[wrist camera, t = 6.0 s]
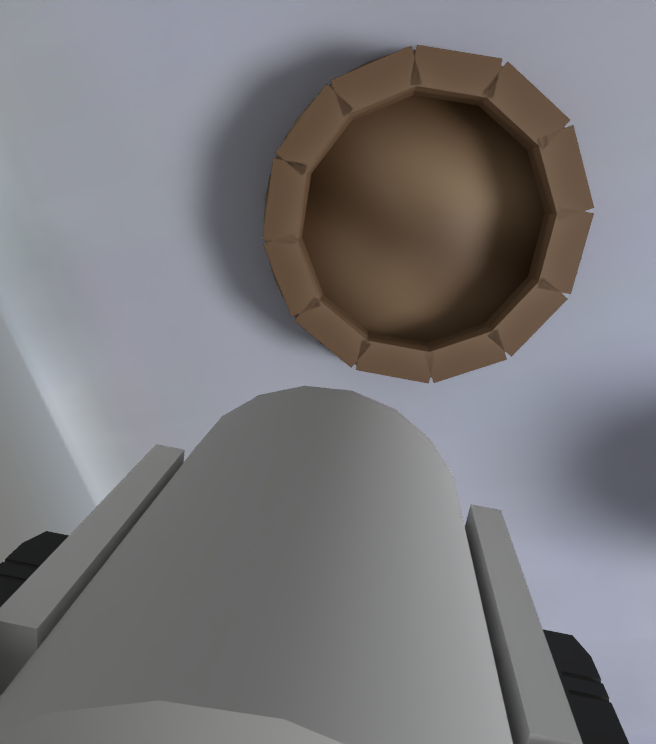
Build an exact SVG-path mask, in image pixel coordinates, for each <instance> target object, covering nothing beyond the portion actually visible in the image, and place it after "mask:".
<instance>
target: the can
mask: <svg viewBox="0 0 656 744" xmlns="http://www.w3.org/2000/svg"><path fill="white" fill-rule="evenodd" d="M0 744H513V741H512V737H511V732H510V728H509V723H508V719H507V714H506V710H505V705H504V701H503V696H502V692H501V687H500V683H499V678H498V674H497V670H496V665H495V661H494V656H493V652H492V647H491V643H490V638H489V634H488V629H487V625H486V620H485V616H484V611H483V607H482V602H481V598H480V593H479V589H478V584H477V580H476V576H475V571H474V567H473V562H472V558H471V553H470V549H469V544H468V540H467V535H466V531H465V526H464V522H463V517H462V513H461V508H460V504H459V499H458V495H457V491H456V486H455V482H454V477H453V475H452V474H451V472H450V470H449V469H448V467H447V465H446V464H445V462H444V460H443V459H442V457H441V455H440V454H439V452H438V451H437V449H436V447H435V446H434V444H433V442H432V441H431V439H430V438H429V437H427V436H426V435H425V434H424V433H423V432H422V431H420V430H419V429H418V428H417V427H416V426H414V425H413V424H412V423H411V422H410V421H409V420H407V419H406V418H405V417H404V416H403V415H402V414H400V413H399V412H398V411H397V410H396V409H393V408H391V407H389V406H386V405H384V404H382V403H379V402H377V401H375V400H372V399H370V398H367V397H365V396H363V395H360V394H358V393H356V392H353V391H349V390H339V389H330V388H320V387H310V386H302V387H297V388H292V389H287V390H282V391H277V392H272V393H267V394H262V395H259V396H257V397H255V398H254V399H252V400H250V401H248V402H247V403H245V404H243V405H241V406H240V407H238V408H236V409H234V410H233V411H231V412H229V413H227V414H226V415H224V416H222V417H221V418H220V420H219V421H218V422H217V423H216V424H215V425H214V427H213V428H212V429H211V430H210V431H209V432H208V434H207V435H206V436H205V437H204V438H203V439H202V441H201V442H200V443H199V444H198V445H197V446H196V448H195V449H194V450H193V451H192V453H191V454H190V455H189V457H188V458H187V459H186V460H185V462H184V463H183V464H182V465H181V467H180V468H179V469H178V471H177V472H176V473H175V474H174V476H173V477H172V478H171V479H170V481H169V482H168V483H167V485H166V486H165V487H164V488H163V490H162V491H161V492H160V493H159V495H158V496H157V497H156V499H155V500H154V501H153V502H152V504H151V505H150V506H149V507H148V509H147V510H146V511H145V513H144V514H143V515H142V516H141V518H140V519H139V520H138V521H137V523H136V524H135V525H134V527H133V528H132V529H131V530H130V532H129V533H128V534H127V535H126V537H125V538H124V539H123V541H122V542H121V543H120V544H119V546H118V547H117V548H116V549H115V551H114V552H113V553H112V555H111V556H110V557H109V558H108V560H107V561H106V562H105V563H104V565H103V566H102V567H101V569H100V570H99V571H98V572H97V574H96V575H95V576H94V577H93V579H92V580H91V581H90V583H89V584H88V585H87V586H86V588H85V589H84V590H83V592H82V593H81V594H80V595H79V597H78V598H77V599H76V600H75V602H74V603H73V604H72V606H71V607H70V608H69V609H68V611H67V612H66V613H65V614H64V616H63V617H62V618H61V620H60V621H59V622H58V623H57V625H56V626H55V627H54V628H53V630H52V631H51V632H50V634H49V635H48V636H47V637H46V639H45V640H44V641H43V642H42V644H41V645H40V646H39V648H38V649H37V650H36V651H35V653H34V654H33V655H32V656H31V658H30V659H29V660H28V662H27V663H26V664H25V665H24V667H23V668H22V669H21V670H20V672H19V673H18V674H17V676H16V677H15V678H14V679H13V681H12V682H11V683H10V684H9V686H8V687H7V688H6V690H5V691H4V692H3V693H2V695H1V696H0Z"/></svg>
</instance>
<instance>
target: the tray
mask: <svg viewBox="0 0 656 744" xmlns="http://www.w3.org/2000/svg"><path fill="white" fill-rule="evenodd" d="M501 63H502V59H501V58H495V57H489V56H483V55H477V54H470V53H464V52H458V51H452V50H446V49H440V48H433V47H427V46H421V45H417V47H416V50H412V47H411V46H409V47H407V48H404V49H402V50H400V51H397V52H395V53H393V54H390V55H387V56H385V57H382V58H379V59H376V60H373V61H370V62H368V63H366V64H364V65H362V66H360V67H358V68H356V69H354V70H352V71H350V72H348V73H346V74H344V75H342V76H339V77H337V78H335V79H332V80H331V82H332V84H331V85H329V86H328V85H327V84H326V85H325V86H324V88H323V89H322V90H321V92H320V93H319V94H318V96H317V97H316V98H315V99H314V100H313V101H312V102H311V103H310V104H309V106H308V107H307V108H306V109H305V110H304V111H303V113H302V114H301V115H300V116H299V117H298V119H297V120H296V122H295V123H294V125H293V127H292V128H291V130H290V131H289V133H288V134H287V136H286V138H285V140H284V142H283V143H282V145H281V146H280V147H279V149H278V150H277V151H276V154H277V157H276V159H274V158H273V164H272V172H271V175H270V178H269V183H268V188H267V193H266V198H265V213H264V233H263V239H264V240H265V241H266V244H264V248H265V250H266V253H267V256H268V258H269V262H270V265H271V268H272V271H273V275H274V278H275V280H276V283H277V285H278V287H279V289H280V291H281V293H282V296H283V298H284V299H285V302H286V304H287V307H288V309H289V312H290V315H291V316H294V315H295V316H296V317H297V318H296V319H295V320H294V321H295V322H297V323H298V324H299V325H300V326H301V327H303V328H304V329H305V330H306V331H307V332H309V333H310V334H311V335H312V336H314V337H315V338H316V339H317V340H318V341H319V342H320V343H322V344H323V345H324V346H326V347H327V348H328V349H329V350H330V351H332V352H333V353H334V354H335V355H336V356H338V357H339V358H340V359H341V360H343V361H344V362H345V363H346V364H347V365H349V366H350V367H352V366H353V365H354V364H356V365H357V366H356V370H359V371H365V372H370V373H376V374H381V375H386V376H392V377H397V378H403V379H408V380H413V381H419V382H424V383H429V379H430V377H432V379H433V382H434V383H435V382H438V381H442V380H445V379H448V378H451V377H454V376H457V375H460V374H463V373H466V372H469V371H473V370H476V369H479V368H482V367H485V366H488V365H491V364H494V363H497V362H500V361H504V360H507V358H506V355H505V351H506V352H507V353H508V354H509V355H510V356H511V357H512V356H513V355H514V353H515V352H516V351H517V350H518V349H519V348H520V347H521V346H522V345H523V344H524V343H525V342H526V341H527V340H528V339H529V338H530V337H531V336H532V335H533V334H534V333H535V332H536V331H537V330H538V329H539V328H540V327H541V326H542V325H543V324H544V323H545V322H546V321H547V320H548V319H549V318H550V317H551V316H552V315H553V314H554V313H555V312H556V310H557V309H558V308H559V307H560V306H561V305H562V304H563V303H564V302H565V301H566V300H567V298H566V297H565V296H564V295H563V294H562V293H568V294H571V291H572V288H573V284H574V281H575V277H576V274H577V270H578V267H579V263H580V260H581V256H582V253H583V249H584V246H585V243H586V239H587V236H588V232H589V229H590V225H591V222H592V218H593V215H594V213H588V212H585V211H586V210H589V209H591V208H594V205H593V201H592V198H591V194H590V190H589V186H588V182H587V178H586V174H585V170H584V166H583V162H582V158H581V154H580V150H579V146H578V142H577V138H576V134H575V130H574V126H573V125H572V126H569V127H567V128H565V127H564V126H565V125H566V124H567V123H568V122H569V121H570V119H569V118H568V117H567V116H566V115H565V114H563V113H562V112H561V111H560V110H559V109H558V108H557V107H556V106H555V105H554V104H553V103H552V102H551V101H550V100H549V99H547V98H546V97H545V96H544V95H543V94H542V93H541V92H540V91H539V90H538V89H537V88H536V87H535V86H534V85H533V84H531V83H530V82H529V81H528V80H527V79H526V78H525V77H524V76H523V75H522V74H521V73H520V72H519V71H518V70H516V69H515V68H514V67H513V66H512V65H511V64H510V63H509V62H507V63H506V64H505V65H504V66H503V67H502V66H501Z"/></svg>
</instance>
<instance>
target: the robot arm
mask: <svg viewBox="0 0 656 744" xmlns="http://www.w3.org/2000/svg"><path fill="white" fill-rule="evenodd" d="M183 462H184V449H178V448H173V447H168V446H163V445H157V444H156V445H155V446H154V447H153V448H152V449H151V450H150V452H149V453H148V454H147V455H146V456H145V457H144V458H143V459H142V460H141V461H140V462H139V463H138V464H137V465H136V466H135V467H134V468H133V469H132V470H131V471H130V472H129V473H128V475H127V476H126V477H125V478H124V479H123V480H122V481H121V482H120V483H119V484H118V485H117V486H116V487H115V488H114V489H113V490H112V491H111V492H110V493H109V494H108V495H107V497H106V498H105V499H104V500H103V501H102V502H101V503H100V504H99V505H98V506H97V507H96V508H95V509H94V510H93V511H92V512H91V514H89V516H87V517H86V518H85V520H84V521H83V522H82V523H81V524H80V525H79V526H78V527H77V528H76V529H75V530H74V531H73V532H72V533H71V534H70V535H69V536H68V535H63V534H58V533H53V532H48V531H46V532H44V533H42V534H40V535H38V536H36V537H34V538H32V539H30V540H28V541H25V542H23V543H22V544H21V545H20V546H19V547H18V548H17V549H16V550H14V551H13V552H12V553H11V554H10V555H9V556H8V557H7V558H6V559H5V562H2V563H1V564H0V696H1V695H2V693H3V692H4V691H5V690H6V688H7V687H8V686H9V684H10V683H11V682H12V681H13V679H14V678H15V677H16V676H17V674H18V673H19V672H20V670H21V669H22V668H23V667H24V665H25V664H26V663H27V662H28V660H29V659H30V658H31V656H32V655H33V654H34V653H35V651H36V650H37V649H38V648H39V646H40V645H41V644H42V642H43V641H44V640H45V639H46V637H47V636H48V635H49V634H50V632H51V631H52V630H53V628H54V627H55V626H56V625H57V623H58V622H59V621H60V620H61V618H62V617H63V616H64V614H65V613H66V612H67V611H68V609H69V608H70V607H71V606H72V604H73V603H74V602H75V600H76V599H77V598H78V597H79V595H80V594H81V593H82V592H83V590H84V589H85V588H86V586H87V585H88V584H89V583H90V581H91V580H92V579H93V577H94V576H95V575H96V574H97V572H98V571H99V570H100V569H101V567H102V566H103V565H104V563H105V562H106V561H107V560H108V558H109V557H110V556H111V555H112V553H113V552H114V551H115V549H116V548H117V547H118V546H119V544H120V543H121V542H122V541H123V539H124V538H125V537H126V535H127V534H128V533H129V532H130V530H131V529H132V528H133V527H134V525H135V524H136V523H137V521H138V520H139V519H140V518H141V516H142V515H143V514H144V513H145V511H146V510H147V509H148V507H149V506H150V505H151V504H152V502H153V501H154V500H155V499H156V497H157V496H158V495H159V493H160V492H161V491H162V490H163V488H164V487H165V486H166V485H167V483H168V482H169V481H170V479H171V478H172V477H173V476H174V474H175V473H176V472H177V471H178V469H179V468H180V467H181V465H182V464H183ZM465 531H466V535H467V540H468V544H469V549H470V553H471V558H472V562H473V567H474V571H475V576H476V580H477V584H478V589H479V593H480V598H481V602H482V607H483V611H484V616H485V620H486V625H487V629H488V634H489V638H490V643H491V647H492V652H493V656H494V661H495V665H496V670H497V674H498V678H499V683H500V687H501V692H502V696H503V701H504V705H505V710H506V714H507V719H508V723H509V728H510V732H511V737H512V741H513V744H629V742H628V740H627V738H626V736H625V733H624V731H623V729H622V726H621V724H620V722H619V719H618V717H617V715H616V713H615V710H614V708H613V706H612V703H610V702H609V697H608V694H607V692H606V690H605V687H604V685H603V684H602V683H601V678H600V676H599V674H598V671H597V669H596V667H595V664H594V662H593V660H592V658H591V656H590V655H589V654H588V653H587V651H586V650H585V649H584V648H583V647H582V646H581V645H580V643H579V642H578V641H577V640H576V639H575V638H574V637H573V635H568V634H563V633H558V632H553V631H548V630H543V629H542V626H541V623H540V621H539V618H538V615H537V612H536V609H535V606H534V603H533V601H532V598H531V595H530V592H529V589H528V586H527V584H526V581H525V578H524V575H523V572H522V569H521V566H520V564H519V561H518V558H517V555H516V552H515V549H514V547H513V544H512V541H511V538H510V535H509V532H508V529H507V527H506V524H505V521H504V518H503V515H502V512H501V510H497V509H492V508H487V507H482V506H477V505H471V506H470V509H469V513H468V517H467V521H466V525H465Z"/></svg>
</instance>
